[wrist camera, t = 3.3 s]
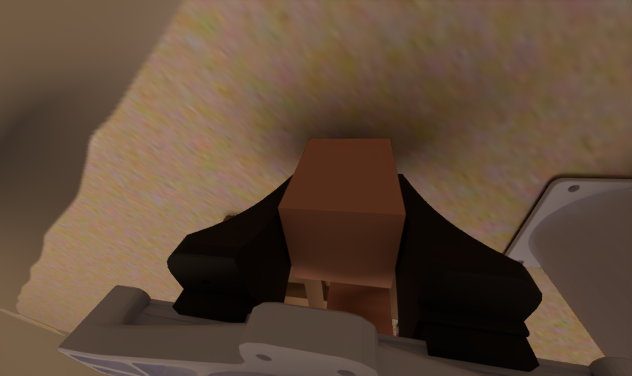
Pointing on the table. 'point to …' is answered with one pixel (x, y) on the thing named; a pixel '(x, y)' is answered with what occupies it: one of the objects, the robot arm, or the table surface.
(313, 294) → the walnut base
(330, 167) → the post block
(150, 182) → the table surface
